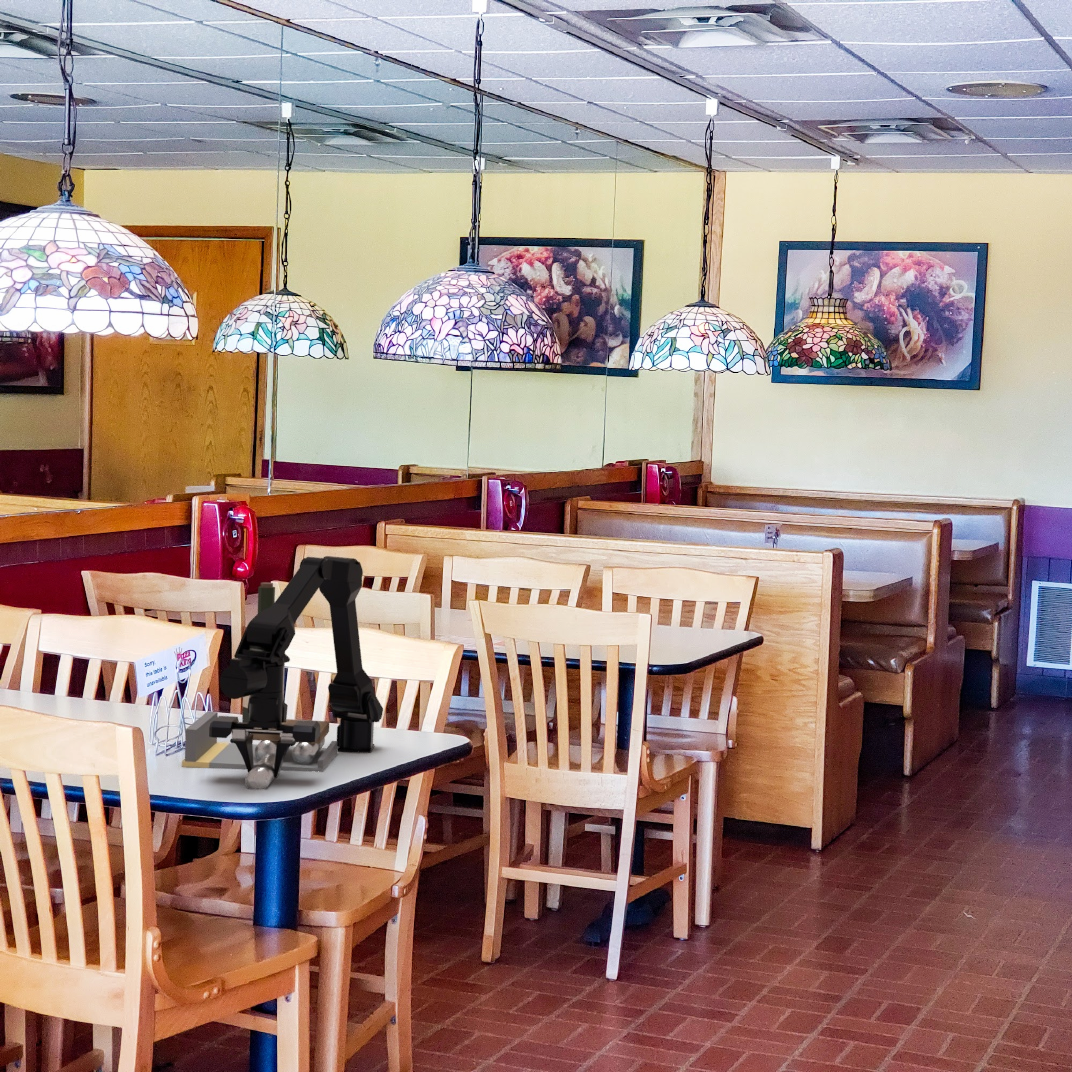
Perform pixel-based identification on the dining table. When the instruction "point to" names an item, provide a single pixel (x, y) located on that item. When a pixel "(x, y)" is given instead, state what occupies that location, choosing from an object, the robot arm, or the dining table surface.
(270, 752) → the roller
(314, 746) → the roller
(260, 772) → the roller
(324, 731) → the slab
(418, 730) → the dining table surface
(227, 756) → the track board
